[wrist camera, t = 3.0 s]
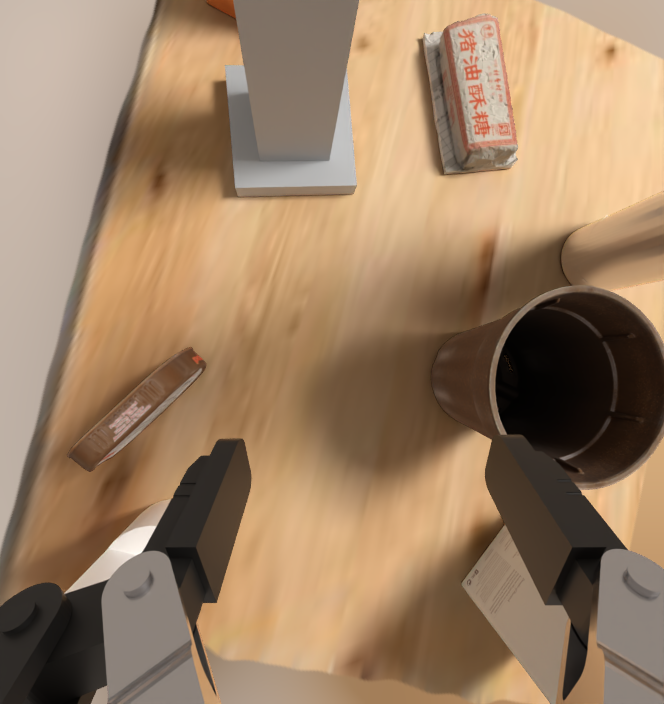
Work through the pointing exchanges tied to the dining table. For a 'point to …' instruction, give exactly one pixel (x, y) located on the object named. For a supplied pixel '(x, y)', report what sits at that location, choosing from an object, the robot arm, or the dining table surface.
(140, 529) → the cylinder with rectangular tab
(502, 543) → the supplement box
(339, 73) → the grey stand
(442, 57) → the packaged product
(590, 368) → the plant pot
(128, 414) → the tin
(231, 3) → the whiskey bottle
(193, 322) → the dining table surface
